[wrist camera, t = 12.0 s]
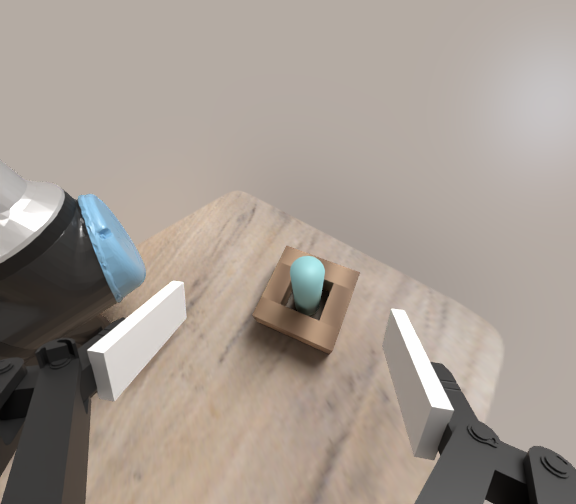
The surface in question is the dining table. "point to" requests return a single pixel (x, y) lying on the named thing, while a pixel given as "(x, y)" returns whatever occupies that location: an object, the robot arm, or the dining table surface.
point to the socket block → (296, 323)
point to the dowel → (307, 283)
